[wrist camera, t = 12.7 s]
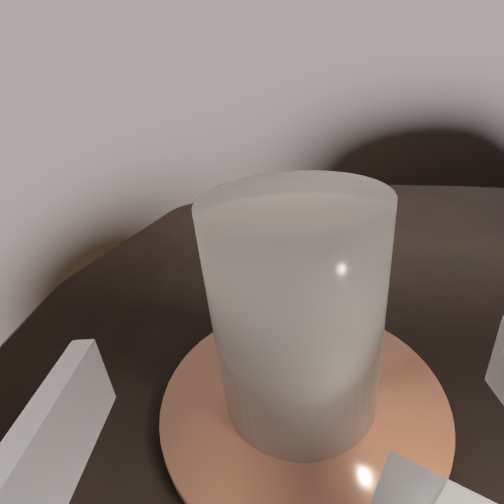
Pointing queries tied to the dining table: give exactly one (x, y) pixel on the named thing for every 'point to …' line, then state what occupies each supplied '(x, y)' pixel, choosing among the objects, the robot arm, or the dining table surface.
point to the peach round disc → (301, 474)
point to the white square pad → (449, 500)
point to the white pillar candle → (298, 305)
